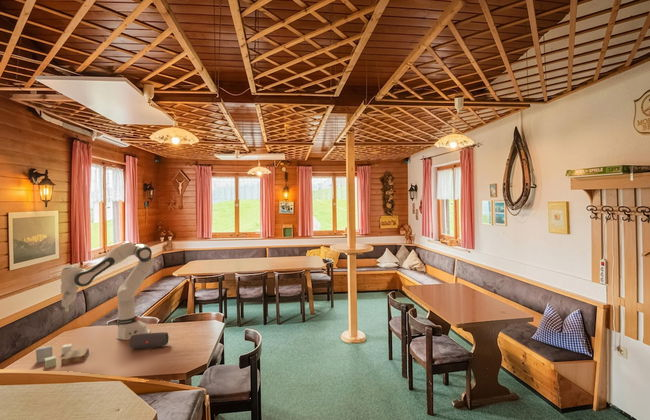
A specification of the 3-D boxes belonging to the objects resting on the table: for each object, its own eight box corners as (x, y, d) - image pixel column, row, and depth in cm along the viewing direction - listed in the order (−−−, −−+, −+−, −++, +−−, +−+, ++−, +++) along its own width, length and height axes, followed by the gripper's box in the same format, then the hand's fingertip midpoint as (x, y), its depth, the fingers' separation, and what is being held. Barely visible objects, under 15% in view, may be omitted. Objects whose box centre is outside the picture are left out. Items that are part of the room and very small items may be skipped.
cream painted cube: (72, 350, 229) (72, 343, 228) (70, 353, 224) (70, 346, 224) (63, 352, 226) (63, 344, 226) (61, 355, 222) (61, 347, 222)
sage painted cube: (55, 363, 210) (54, 355, 210) (56, 365, 206) (55, 358, 206) (44, 366, 206) (44, 358, 206) (45, 368, 203) (45, 360, 203)
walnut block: (89, 354, 223) (88, 348, 223) (84, 361, 212) (84, 355, 212) (67, 357, 218) (66, 351, 218) (61, 365, 207) (61, 359, 207)
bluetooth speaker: (129, 352, 223) (128, 337, 223) (135, 346, 232) (134, 332, 232) (164, 349, 226) (164, 334, 226) (169, 343, 236) (168, 329, 235)
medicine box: (52, 357, 218) (52, 344, 218) (52, 360, 214) (52, 346, 214) (36, 361, 213) (36, 348, 213) (36, 364, 210) (35, 350, 209)
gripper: (70, 292, 221) (70, 313, 221) (78, 286, 240) (78, 305, 240) (58, 293, 219) (58, 314, 219) (67, 287, 237) (68, 306, 237)
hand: (69, 309), depth 230 cm, fingers open, 8 cm apart
